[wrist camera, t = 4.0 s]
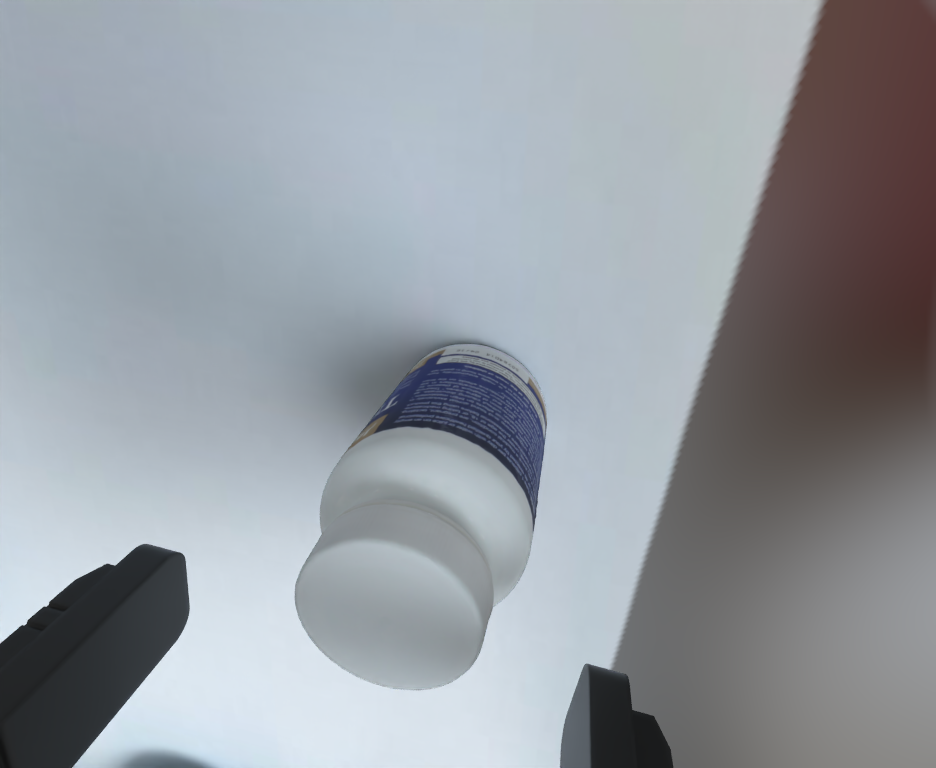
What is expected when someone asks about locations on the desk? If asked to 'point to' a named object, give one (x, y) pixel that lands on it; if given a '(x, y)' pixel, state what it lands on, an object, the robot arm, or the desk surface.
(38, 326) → the desk surface
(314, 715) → the desk surface
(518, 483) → the pill bottle
